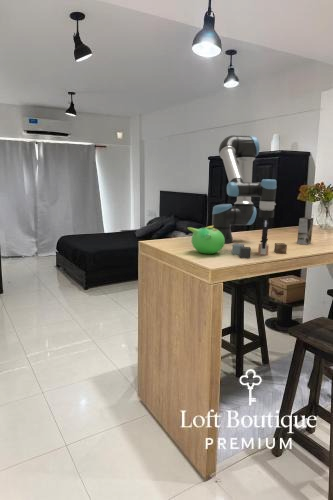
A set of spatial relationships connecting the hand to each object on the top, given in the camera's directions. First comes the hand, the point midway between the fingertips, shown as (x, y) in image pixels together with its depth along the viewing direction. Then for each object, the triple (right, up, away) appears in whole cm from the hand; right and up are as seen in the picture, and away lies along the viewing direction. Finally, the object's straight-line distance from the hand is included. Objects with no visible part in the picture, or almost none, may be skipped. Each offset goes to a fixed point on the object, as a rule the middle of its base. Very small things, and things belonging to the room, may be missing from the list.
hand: (263, 253), depth 185 cm
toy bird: (-30, 0, -1) cm, 30 cm away
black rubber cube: (-11, -2, -8) cm, 14 cm away
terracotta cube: (0, 0, 0) cm, 0 cm away
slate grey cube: (-14, 0, 0) cm, 14 cm away
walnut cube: (+11, 0, +4) cm, 11 cm away
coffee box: (+35, +6, +34) cm, 49 cm away
